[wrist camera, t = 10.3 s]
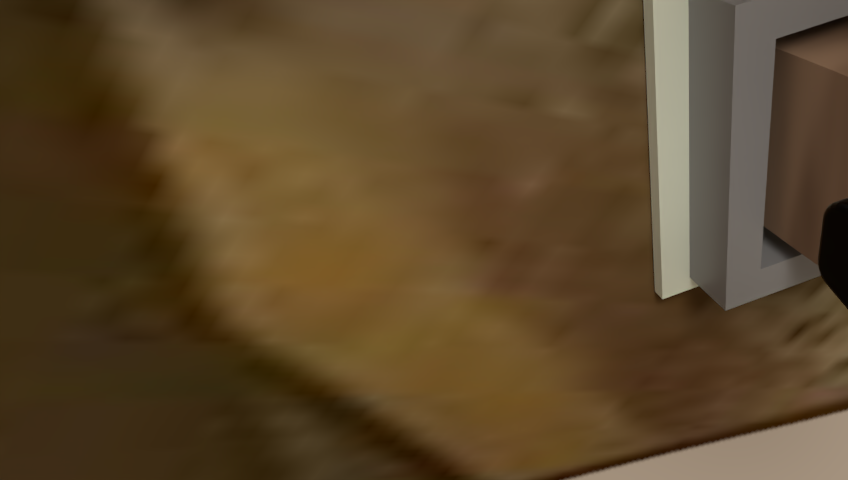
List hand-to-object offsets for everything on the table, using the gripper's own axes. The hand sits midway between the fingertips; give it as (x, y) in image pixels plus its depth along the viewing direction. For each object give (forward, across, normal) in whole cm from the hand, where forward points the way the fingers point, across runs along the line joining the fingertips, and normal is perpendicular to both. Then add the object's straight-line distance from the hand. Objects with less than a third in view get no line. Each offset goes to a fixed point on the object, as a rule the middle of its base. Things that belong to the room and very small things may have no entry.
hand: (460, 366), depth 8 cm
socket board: (+12, -14, +6) cm, 19 cm away
